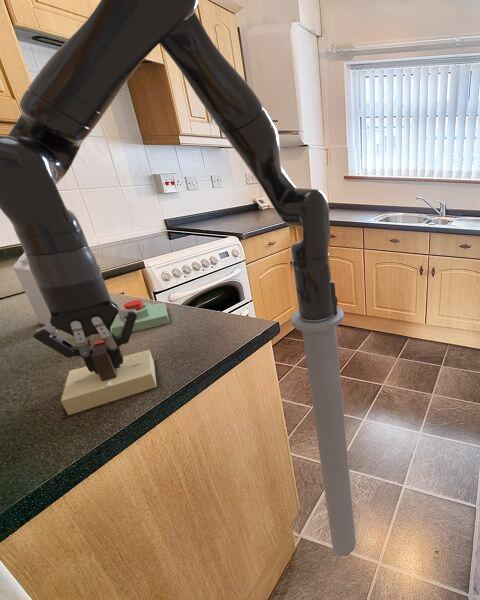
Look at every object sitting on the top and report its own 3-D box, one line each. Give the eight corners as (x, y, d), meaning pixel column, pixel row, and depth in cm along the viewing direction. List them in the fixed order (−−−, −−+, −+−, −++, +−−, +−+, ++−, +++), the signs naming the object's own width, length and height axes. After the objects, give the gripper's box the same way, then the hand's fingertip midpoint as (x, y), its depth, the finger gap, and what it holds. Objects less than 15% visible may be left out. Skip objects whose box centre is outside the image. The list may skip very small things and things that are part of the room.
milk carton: (73, 312, 90) (42, 242, 82) (91, 315, 88) (61, 244, 80) (40, 324, 84) (3, 250, 76) (59, 328, 82) (23, 252, 74)
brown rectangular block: (116, 377, 59) (105, 351, 57) (102, 381, 58) (90, 355, 55) (117, 362, 63) (107, 338, 61) (103, 366, 62) (93, 342, 60)
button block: (166, 309, 91) (162, 296, 90) (169, 323, 84) (164, 308, 82) (110, 321, 85) (104, 307, 83) (108, 337, 77) (102, 322, 76)
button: (143, 305, 85) (141, 298, 84) (144, 310, 82) (142, 303, 82) (126, 308, 83) (123, 302, 82) (125, 314, 80) (123, 307, 80)
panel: (153, 361, 68) (149, 348, 67) (156, 387, 61) (151, 372, 60) (75, 384, 62) (68, 370, 61) (68, 415, 54) (60, 400, 53)
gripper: (-1, 294, 46) (52, 395, 53) (124, 274, 54) (156, 364, 61) (13, 279, 52) (59, 372, 59) (124, 263, 59) (154, 347, 66)
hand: (108, 368), depth 60 cm, fingers closed on brown rectangular block, 2 cm apart
